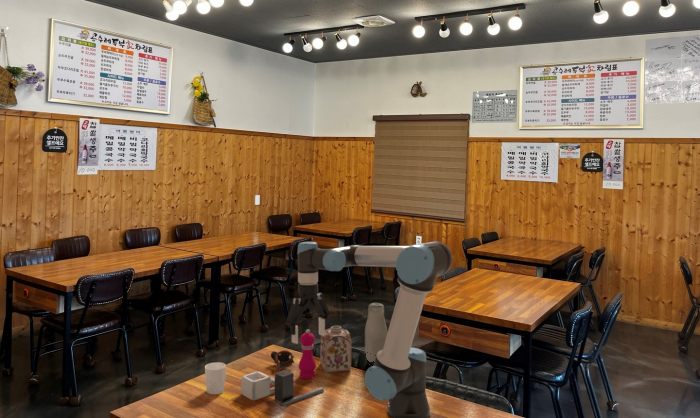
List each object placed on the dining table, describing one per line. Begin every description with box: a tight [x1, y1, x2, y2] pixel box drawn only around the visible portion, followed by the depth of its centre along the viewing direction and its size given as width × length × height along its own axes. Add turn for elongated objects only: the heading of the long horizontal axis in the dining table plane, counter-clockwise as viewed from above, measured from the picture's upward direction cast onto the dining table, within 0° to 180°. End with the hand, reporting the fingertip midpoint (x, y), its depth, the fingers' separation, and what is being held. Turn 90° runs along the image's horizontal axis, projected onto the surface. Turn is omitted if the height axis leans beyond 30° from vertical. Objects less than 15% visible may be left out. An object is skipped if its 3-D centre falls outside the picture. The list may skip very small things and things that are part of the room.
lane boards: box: [269, 377, 295, 396], centre depth 207 cm, size 8×12×2 cm
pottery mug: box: [270, 349, 295, 371], centre depth 229 cm, size 12×10×8 cm
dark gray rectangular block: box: [261, 369, 295, 403], centre depth 199 cm, size 16×5×10 cm, turn 44°
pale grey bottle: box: [364, 302, 388, 362], centre depth 232 cm, size 10×10×28 cm
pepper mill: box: [298, 329, 317, 380], centre depth 218 cm, size 7×7×20 cm
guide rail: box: [279, 387, 325, 408], centre depth 197 cm, size 1×20×1 cm, turn 134°
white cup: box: [204, 361, 227, 395], centre depth 202 cm, size 8×8×10 cm
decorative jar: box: [319, 325, 352, 373], centre depth 229 cm, size 12×12×18 cm
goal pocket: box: [240, 370, 271, 402], centre depth 200 cm, size 8×8×7 cm
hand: (308, 338), depth 197 cm, fingers open, 13 cm apart
